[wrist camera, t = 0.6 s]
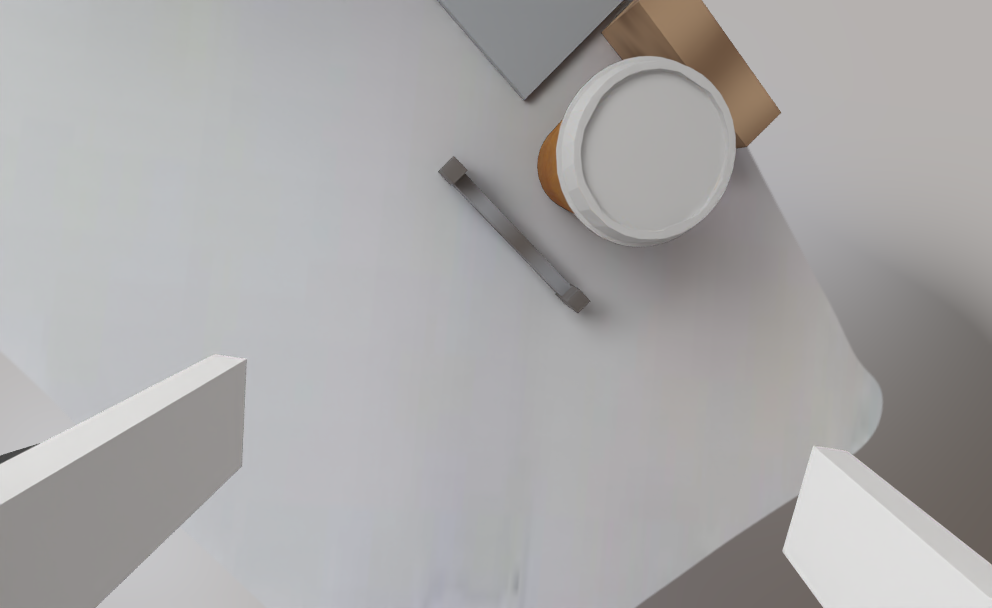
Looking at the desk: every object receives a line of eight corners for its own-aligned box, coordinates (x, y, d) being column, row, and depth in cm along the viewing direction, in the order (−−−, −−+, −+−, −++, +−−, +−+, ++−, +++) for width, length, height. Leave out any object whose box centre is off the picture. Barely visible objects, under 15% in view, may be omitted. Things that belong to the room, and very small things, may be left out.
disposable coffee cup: (506, 224, 38) (550, 238, 26) (524, 84, 36) (580, 32, 24) (630, 239, 39) (724, 258, 28) (653, 106, 38) (762, 67, 26)
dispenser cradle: (438, 171, 36) (444, 167, 30) (621, -14, 36) (663, -55, 30) (565, 304, 40) (592, 323, 34) (734, 137, 39) (791, 127, 33)
